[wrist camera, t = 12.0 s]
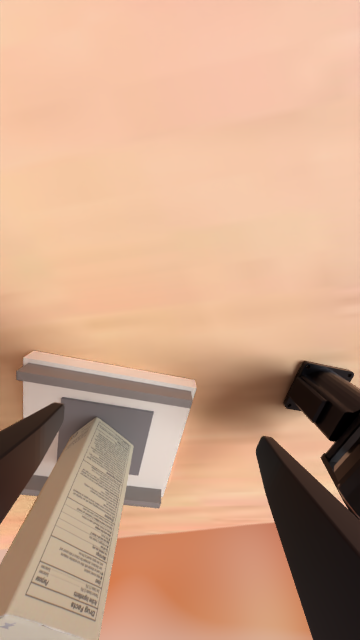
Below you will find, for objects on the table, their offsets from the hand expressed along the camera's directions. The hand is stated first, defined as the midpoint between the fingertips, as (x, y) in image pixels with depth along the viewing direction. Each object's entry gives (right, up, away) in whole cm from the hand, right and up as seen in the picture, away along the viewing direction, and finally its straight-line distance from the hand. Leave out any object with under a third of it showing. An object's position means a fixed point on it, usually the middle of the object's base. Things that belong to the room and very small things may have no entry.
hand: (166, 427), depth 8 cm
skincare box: (-8, -9, +13) cm, 18 cm away
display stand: (-8, -9, +15) cm, 19 cm away
